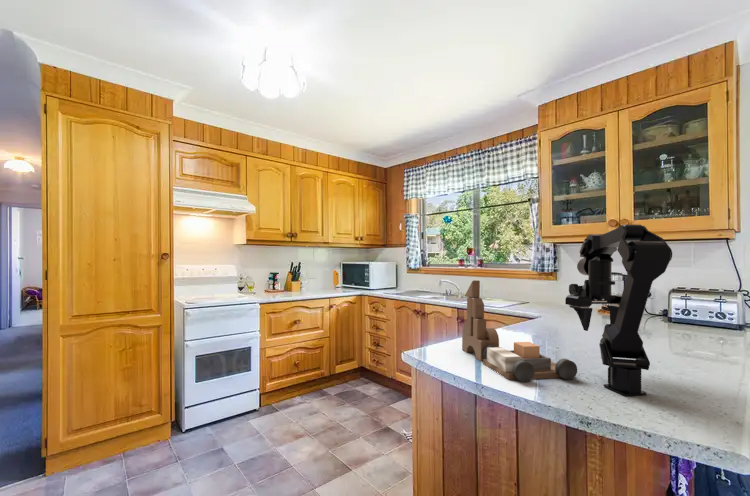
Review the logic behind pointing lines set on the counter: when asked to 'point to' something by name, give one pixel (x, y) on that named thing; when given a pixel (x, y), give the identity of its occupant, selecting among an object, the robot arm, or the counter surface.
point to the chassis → (526, 365)
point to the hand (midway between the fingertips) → (599, 330)
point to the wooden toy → (477, 324)
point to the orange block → (526, 350)
